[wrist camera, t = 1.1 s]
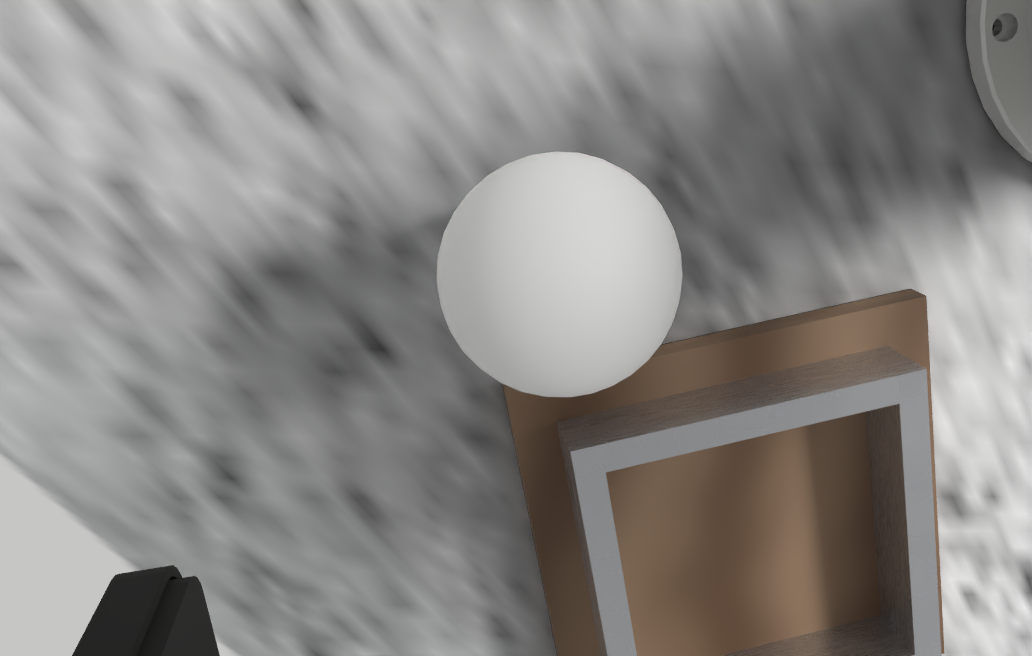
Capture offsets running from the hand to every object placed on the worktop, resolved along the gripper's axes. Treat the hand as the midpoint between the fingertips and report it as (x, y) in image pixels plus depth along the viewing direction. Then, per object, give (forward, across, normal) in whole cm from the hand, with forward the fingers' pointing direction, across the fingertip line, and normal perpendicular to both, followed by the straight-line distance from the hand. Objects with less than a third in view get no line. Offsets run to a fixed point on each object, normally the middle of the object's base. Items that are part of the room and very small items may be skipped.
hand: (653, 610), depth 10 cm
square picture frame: (+23, -8, +13) cm, 27 cm away
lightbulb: (+23, -1, 0) cm, 23 cm away
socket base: (+23, -8, +13) cm, 27 cm away
